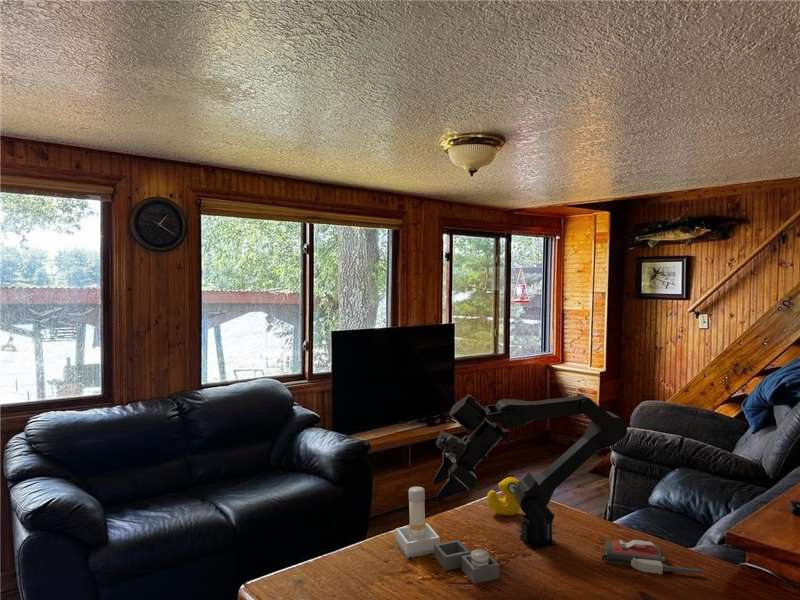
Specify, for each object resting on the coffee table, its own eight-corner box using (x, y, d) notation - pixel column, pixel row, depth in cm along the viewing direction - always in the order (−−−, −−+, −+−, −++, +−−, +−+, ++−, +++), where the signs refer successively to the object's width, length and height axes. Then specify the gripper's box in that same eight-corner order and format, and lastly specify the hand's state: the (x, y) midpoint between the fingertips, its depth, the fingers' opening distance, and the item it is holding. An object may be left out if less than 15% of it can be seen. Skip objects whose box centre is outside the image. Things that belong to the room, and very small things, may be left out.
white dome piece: (483, 567, 122) (483, 548, 122) (492, 576, 119) (491, 556, 119) (468, 571, 121) (468, 551, 121) (476, 580, 118) (475, 559, 117)
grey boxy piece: (486, 564, 124) (485, 551, 124) (499, 578, 118) (499, 564, 118) (461, 569, 122) (461, 556, 122) (473, 583, 116) (473, 570, 116)
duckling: (527, 509, 152) (527, 473, 151) (531, 518, 146) (531, 481, 146) (486, 510, 152) (485, 474, 152) (488, 518, 147) (488, 481, 146)
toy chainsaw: (602, 569, 121) (704, 581, 116) (602, 549, 121) (704, 560, 116) (599, 550, 130) (694, 560, 124) (599, 531, 130) (694, 541, 124)
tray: (427, 536, 138) (426, 522, 138) (440, 551, 130) (439, 537, 130) (396, 542, 135) (395, 528, 135) (407, 558, 127) (406, 543, 127)
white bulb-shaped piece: (425, 539, 134) (424, 486, 134) (425, 546, 131) (424, 492, 130) (409, 539, 134) (408, 486, 134) (409, 547, 131) (408, 492, 130)
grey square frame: (458, 552, 129) (458, 539, 129) (470, 565, 124) (470, 552, 124) (434, 557, 127) (434, 544, 127) (445, 570, 122) (444, 557, 122)
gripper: (450, 411, 141) (408, 455, 141) (461, 431, 122) (413, 482, 122) (482, 440, 142) (440, 484, 142) (497, 464, 123) (449, 516, 123)
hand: (435, 490), depth 132 cm, fingers open, 9 cm apart
